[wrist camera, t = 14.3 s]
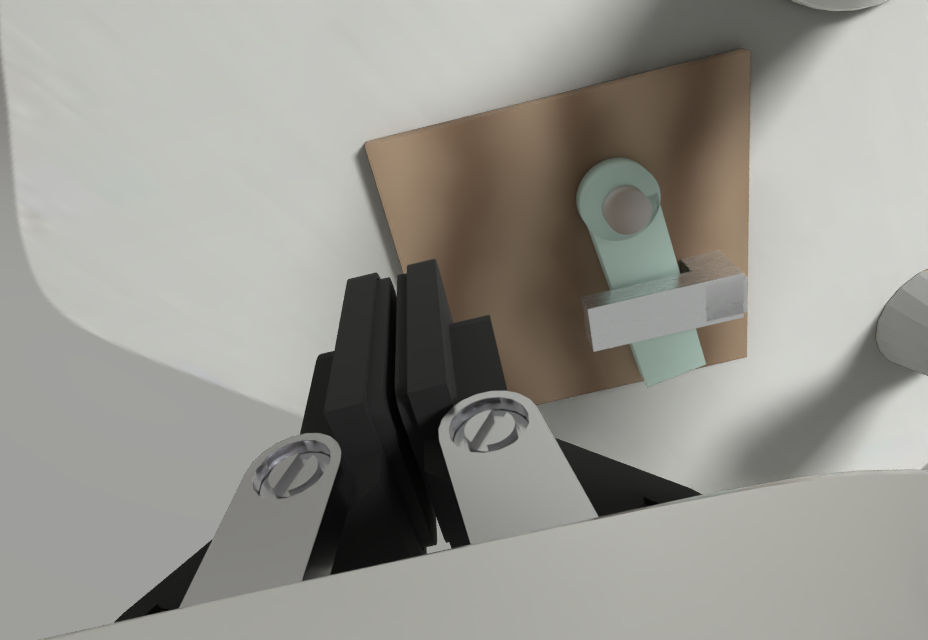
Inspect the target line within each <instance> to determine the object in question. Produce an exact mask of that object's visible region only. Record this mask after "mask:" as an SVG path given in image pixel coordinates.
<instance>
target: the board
mask: <svg viewBox="0 0 928 640" xmlns="http://www.w3.org/2000/svg"><path fill="white" fill-rule="evenodd" d="M750 59H751V51H750V50H746V49H742V48H741V49H737V50H733V51H729V52H725V53H721V54H717V55H713V56H709V57H705V58H701V59H697V60H693V61H689V62H685V63H681V64H677V65H673V66H669V67H665V68H661V69H657V70H653V71H649V72H645V73H640V74H636V75H632V76H628V77H624V78H620V79H616V80H612V81H608V82H604V83H600V84H596V85H592V86H588V87H584V88H580V89H576V90H572V91H568V92H564V93H560V94H556V95H552V96H548V97H544V98H540V99H536V100H532V101H528V102H524V103H520V104H516V105H512V106H508V107H504V108H500V109H496V110H491V111H487V112H483V113H479V114H475V115H471V116H467V117H463V118H459V119H455V120H451V121H447V122H443V123H439V124H435V125H431V126H427V127H423V128H419V129H415V130H411V131H407V132H403V133H399V134H395V135H391V136H387V137H383V138H379V139H375V140H371V141H367V142H366V143H365V149H366V152H367V155H368V159H369V162H370V165H371V168H372V172H373V175H374V178H375V182H376V185H377V188H378V191H379V195H380V198H381V201H382V205H383V208H384V211H385V214H386V218H387V221H388V224H389V227H390V231H391V234H392V237H393V241H394V244H395V247H396V250H397V254H398V257H399V260H400V264H401V267H402V270H403V273H404V274H405V273H407V265H410V264H414V263H418V262H422V261H427V260H431V259H436V261H437V264H438V267H439V271H440V275H441V278H442V282H443V286H444V289H445V293H446V297H447V300H448V304H449V308H450V311H451V315H452V319H453V323H455V322H460V321H464V320H468V319H473V318H477V317H481V316H485V315H490V318H491V322H492V327H493V331H494V335H495V339H496V344H497V348H498V352H499V357H500V361H501V365H502V369H503V374H504V378H505V382H506V386H507V391H510V392H515V393H519V394H521V395H523V396H525V397H527V398H529V399H530V400H531V401H532V402H533V403H534V404H535V405H539V404H543V403H547V402H552V401H556V400H561V399H565V398H569V397H574V396H578V395H583V394H587V393H591V392H596V391H600V390H605V389H609V388H613V387H618V386H622V385H626V384H631V383H635V382H640V381H644V380H643V378H642V376H641V375H640V372H639V369H638V366H637V364H636V361H635V358H634V355H633V352H632V350H631V347H630V344H626V345H621V346H617V347H613V348H608V349H604V350H600V351H595V352H593V349H592V347H591V345H590V343H589V341H588V339H587V333H586V326H585V319H584V312H583V305H582V298H581V297H583V296H588V295H592V294H596V293H601V292H605V291H609V290H610V288H609V286H608V283H607V280H606V277H605V275H604V272H603V269H602V266H601V263H600V261H599V258H598V255H597V252H596V249H595V247H594V244H593V241H592V238H591V236H590V233H589V230H588V227H587V225H586V224H585V222H584V221H583V219H582V218H581V216H580V214H579V212H578V209H577V205H576V194H577V190H578V186H579V184H580V182H581V180H582V178H583V177H584V176H585V174H586V173H587V172H588V171H589V170H590V169H591V168H592V167H593V166H595V165H596V164H598V163H600V162H602V161H604V160H606V159H610V158H616V157H623V158H628V159H632V160H634V161H636V162H638V163H639V164H640V165H642V166H643V167H644V168H645V169H646V170H647V171H648V172H649V173H651V174H652V175H653V177H654V178H655V179H656V181H657V183H658V185H659V188H660V194H661V200H660V205H661V209H662V212H663V216H664V219H665V223H666V226H667V230H668V233H669V237H670V240H671V244H672V247H673V251H674V254H675V257H676V261H677V264H678V268H679V271H680V274H682V271H681V259H684V258H689V257H693V256H697V255H701V254H706V253H710V252H714V251H718V250H719V251H721V252H722V253H723V254H724V255H725V256H726V257H727V258H728V259H729V260H730V261H731V262H733V263H734V264H735V265H736V266H737V267H738V268H739V269H740V270H741V271H743V272H744V274H745V275H746V276H747V295H748V216H749V138H750ZM602 215H603V217H604V219H605V220H606V221H607V223H608V224H609V225H610V227H611V228H612V229H613V230H614V231H615V232H617V233H619V234H623V235H630V234H634V233H636V232H638V231H640V230H641V229H643V228H644V227H645V226H646V225H647V223H648V222H649V220H650V218H651V215H652V205H651V202H650V201H649V199H648V198H647V197H646V196H645V195H644V194H643V193H642V192H641V191H640V190H639V189H638V188H636V187H634V186H632V185H621V186H618V187H616V188H614V189H612V190H611V191H610V192H609V193H608V194H607V195H606V197H605V198H604V200H603V203H602ZM696 331H697V334H698V338H699V341H700V345H701V348H702V352H703V355H704V359H705V362H706V365H703V366H701V367H706V366H710V365H714V364H719V363H723V362H728V361H732V360H736V359H741V358H745V357H747V312H746V313H744V317H743V318H739V319H734V320H730V321H726V322H721V323H717V324H712V325H708V326H704V327H699V328H696ZM701 367H698V368H701ZM696 369H697V368H696Z"/></svg>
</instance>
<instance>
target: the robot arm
mask: <svg viewBox="0 0 928 640" xmlns="http://www.w3.org/2000/svg"><path fill="white" fill-rule="evenodd" d="M791 1H793V2H795V3H798V4H801V5H804V6H807V7H810V8H813V9H821V10H829V11H851V10H859V9H863V8H867V7H871V6H875V5H879V4H881V3H883V2H886V1H888V0H791ZM436 517H437V520H438V523H439V526H440V528H441V531H442V534H443V537H444V539H445V541H446V543H447V542H450V545H451V548H452V549H448V550H443V551H439V552H434V553H429V554H427V552H426V547H429V546H433V545H436V544H437V528H436ZM40 640H928V470H914V469H905V470H865V471H848V472H839V473H830V474H821V475H812V476H803V477H797V478H792V479H786V480H781V481H775V482H770V483H764V484H759V485H753V486H748V487H742V488H737V489H731V490H726V491H720V492H715V493H709V494H704V495H702V494H700V493H698V492H696V491H695V490H693V489H690V488H688V487H685V486H682V485H680V484H677V483H674V482H672V481H669V480H666V479H664V478H661V477H658V476H656V475H653V474H650V473H648V472H645V471H642V470H639V469H637V468H634V467H631V466H629V465H626V464H623V463H621V462H618V461H615V460H613V459H610V458H607V457H605V456H602V455H599V454H597V453H594V452H591V451H589V450H586V449H583V448H581V447H578V446H575V445H573V444H570V443H567V442H564V441H562V440H559V439H556V438H554V436H553V434H552V433H551V431H550V429H549V427H548V425H547V424H546V422H545V420H544V418H543V416H542V415H541V413H540V411H539V409H538V407H537V406H536V405H535V404H534V403H533V402H532V401H531V400H530V399H529V398H527V397H525V396H523V395H521V394H519V393H515V392H510V391H507V386H506V382H505V378H504V374H503V369H502V365H501V361H500V357H499V352H498V348H497V344H496V339H495V335H494V331H493V327H492V322H491V318H490V315H485V316H481V317H477V318H473V319H468V320H464V321H460V322H455V323H453V319H452V315H451V311H450V308H449V304H448V300H447V297H446V293H445V289H444V286H443V282H442V278H441V275H440V271H439V267H438V264H437V261H436V259H431V260H427V261H422V262H418V263H414V264H410V265H407V273H405V274H401V275H398V277H397V296H396V293H395V290H394V287H393V284H392V281H391V279H390V278H389V277H388V278H384V279H380V277H379V275H378V274H377V273H372V274H368V275H364V276H360V277H356V278H351V279H348V281H347V285H346V290H345V296H344V301H343V307H342V312H341V318H340V323H339V329H338V335H337V340H336V346H335V351H332V352H328V353H323V354H320V355H318V358H317V360H316V365H315V369H314V374H313V378H312V383H311V387H310V392H309V396H308V401H307V405H306V410H305V414H304V419H303V423H302V428H301V432H300V435H296V436H292V437H290V438H287V439H285V440H283V441H280V442H278V443H276V444H275V445H273V446H272V447H270V448H269V449H267V450H266V451H264V452H263V453H262V454H261V455H260V456H259V457H258V458H257V459H256V460H255V461H253V462H252V464H251V465H250V467H249V468H248V470H247V471H246V473H245V475H244V477H243V479H242V481H241V483H240V485H239V487H238V489H237V491H236V493H235V495H234V497H233V499H232V501H231V503H230V505H229V507H228V509H227V511H226V513H225V515H224V518H223V519H222V521H221V523H220V526H219V528H218V530H217V532H216V534H215V536H214V538H213V539H212V540H211V541H210V542H209V543H207V544H206V545H205V546H204V547H203V548H201V549H200V550H199V551H198V552H197V553H195V554H194V555H193V556H192V557H191V558H189V559H188V560H187V561H186V562H185V563H184V564H182V565H181V566H180V567H179V568H177V570H175V571H174V572H173V573H171V574H170V575H169V576H168V577H166V578H165V579H164V580H163V581H162V582H161V583H159V584H158V585H157V586H156V587H155V588H153V589H152V590H151V591H150V592H149V593H147V594H146V595H145V596H144V597H142V598H141V599H140V600H139V601H138V602H136V603H135V604H134V605H133V606H132V607H130V608H129V609H128V610H127V611H126V612H124V613H123V614H122V615H121V616H120V617H119V618H118V619H117V620H116V621H115V622H114V623H111V624H107V625H102V626H98V627H94V628H89V629H84V630H80V631H75V632H71V633H66V634H62V635H58V636H53V637H49V638H44V639H40Z"/></svg>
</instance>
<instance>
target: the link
mask: <svg viewBox="0 0 928 640" xmlns="http://www.w3.org/2000/svg"><path fill="white" fill-rule="evenodd" d="M621 185H632V186H634V187H636V188H638V189H639V190H640V191H641V192H642V193H643V194H644V195H645V196H646V197H647V198H648V199H649V201H650V202H651V205H652V215H651V218H650V220H649V222H648V223H647V225H646V226H645V227H644V228H643V229H641V230H640V231H638V232H636V233H634V234H630V235H623V234H619V233H617V232H615V231H614V230H613V229H612V228H611V227H610V225H609V224H608V223H607V221H606V220H605V219H604V217H603V215H602V203H603V200H604V198H605V197H606V195H607V194H608V193H609V192H610V191H611V190H612V189H614V188H616V187H618V186H621ZM660 200H661V194H660V188H659V185H658V183H657V181H656V179H655V178H654V177H653V175H652V174H651V173H649V172H648V171H647V170H646V169H645V168H644V167H643V166H642V165H640V164H639V163H638V162H636V161H634V160H632V159H628V158H623V157H616V158H610V159H606V160H604V161H602V162H600V163H598V164H596V165H595V166H593V167H592V168H591V169H590V170H589V171H588V172H587V173H586V174H585V176H584V177H583V178H582V180H581V182H580V184H579V186H578V190H577V194H576V205H577V209H578V212H579V214H580V216H581V218H582V219H583V221H584V222H585V224H586V225H587V227H588V230H589V233H590V236H591V238H592V241H593V244H594V247H595V249H596V252H597V255H598V258H599V261H600V263H601V266H602V269H603V272H604V275H605V277H606V280H607V283H608V286H609V288H610V290H613V289H618V288H622V287H626V286H630V285H635V284H639V283H643V282H648V281H652V280H656V279H660V278H665V277H669V276H673V275H677V274H680V271H679V268H678V264H677V261H676V257H675V254H674V251H673V247H672V244H671V240H670V237H669V233H668V230H667V226H666V223H665V219H664V216H663V212H662V209H661V205H660ZM630 347H631V350H632V352H633V355H634V358H635V361H636V364H637V366H638V369H639V372H640V375H641V376H642V378H643V380H644V382H645V383H646V385H647V387H649V386H652V385H655V384H657V383H660V382H662V381H665V380H667V379H670V378H673V377H675V376H678V375H680V374H683V373H685V372H688V371H691V370H693V369H696V368H698V367H701V366H703V365H706V362H705V359H704V355H703V352H702V348H701V345H700V341H699V338H698V334H697V331H696V328H695V329H691V330H686V331H682V332H678V333H673V334H669V335H665V336H660V337H656V338H652V339H647V340H643V341H639V342H634V343H630Z"/></svg>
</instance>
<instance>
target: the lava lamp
mask: <svg viewBox="0 0 928 640" xmlns="http://www.w3.org/2000/svg"><path fill="white" fill-rule="evenodd" d="M876 340H877V344H878V348H879V351H880V352H881V353H882V354H883V355H884V356H885V357H886V358H887V359H888V361H891V362H893V363H896V364H898V365H901V366H903V367H906V368H909V369H911V370H914V371H917V372H919V373H922V374H925V375H927V376H928V269H927V270H925V271H923V272H921V273H918V274H917V275H916V276H915V277H913V278H912V279H911V280H909V281H908V282H907V283H906V284H904V285H903V286H902V287H900V288H899V290H898V291H897V292H896V293H895V294H894V296H893V297H892V298H891V299H890V300H889V302H888V303H887V304H886V306H885V308H884V310H883V312H882V314H881V316H880V318H879V320H878V325H877V331H876Z"/></svg>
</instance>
